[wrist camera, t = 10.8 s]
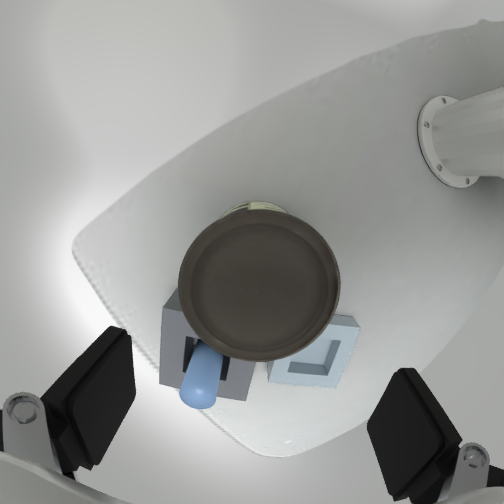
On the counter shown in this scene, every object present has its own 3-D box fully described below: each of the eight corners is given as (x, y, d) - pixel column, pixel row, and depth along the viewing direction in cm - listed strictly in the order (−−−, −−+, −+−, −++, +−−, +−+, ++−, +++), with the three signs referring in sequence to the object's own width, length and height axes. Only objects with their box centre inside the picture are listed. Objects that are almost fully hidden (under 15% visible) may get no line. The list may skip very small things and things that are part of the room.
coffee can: (216, 295, 32) (192, 366, 18) (205, 205, 30) (166, 218, 16) (305, 288, 32) (338, 354, 18) (300, 197, 30) (339, 203, 16)
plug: (229, 324, 33) (217, 387, 21) (225, 346, 33) (213, 412, 22) (203, 319, 33) (180, 379, 21) (200, 341, 33) (178, 404, 22)
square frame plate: (352, 316, 33) (360, 327, 30) (331, 374, 35) (336, 387, 32) (283, 307, 32) (286, 317, 29) (267, 368, 34) (268, 382, 31)
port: (262, 303, 32) (264, 327, 26) (246, 371, 34) (245, 401, 28) (177, 287, 32) (162, 307, 26) (171, 356, 34) (159, 383, 28)
